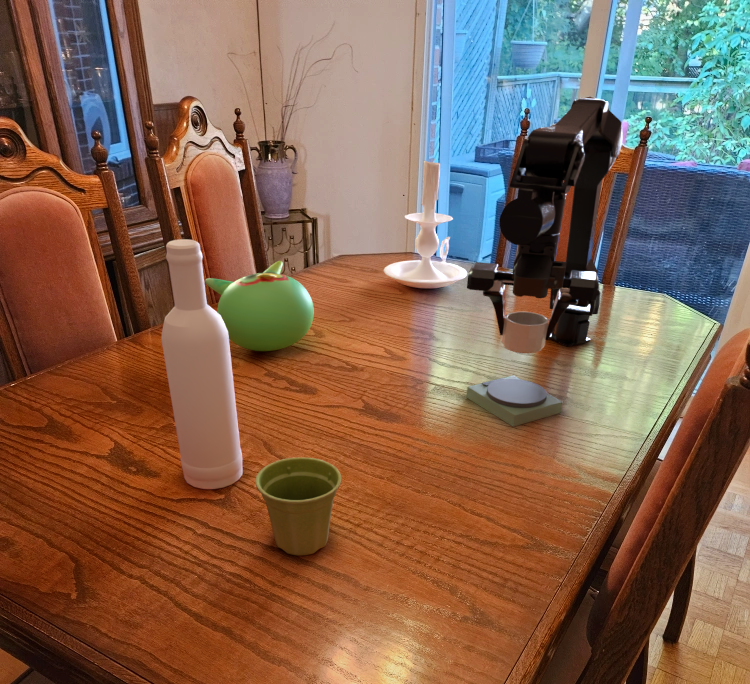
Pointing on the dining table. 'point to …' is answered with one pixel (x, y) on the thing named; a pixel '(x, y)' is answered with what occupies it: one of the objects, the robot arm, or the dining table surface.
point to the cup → (524, 332)
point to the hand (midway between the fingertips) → (523, 336)
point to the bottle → (200, 375)
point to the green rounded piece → (264, 309)
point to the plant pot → (299, 501)
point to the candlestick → (427, 242)
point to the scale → (514, 400)
